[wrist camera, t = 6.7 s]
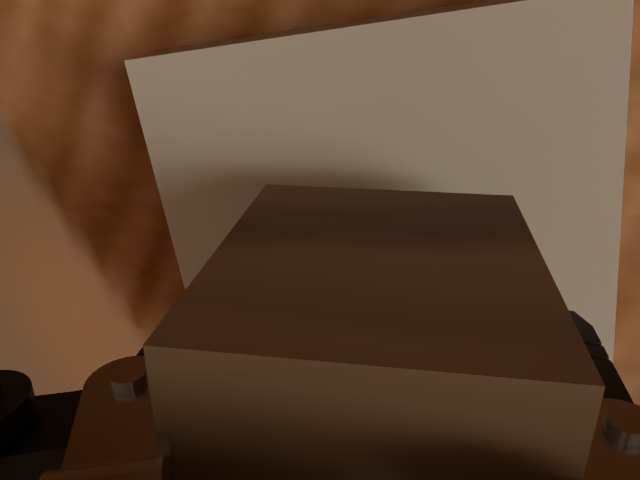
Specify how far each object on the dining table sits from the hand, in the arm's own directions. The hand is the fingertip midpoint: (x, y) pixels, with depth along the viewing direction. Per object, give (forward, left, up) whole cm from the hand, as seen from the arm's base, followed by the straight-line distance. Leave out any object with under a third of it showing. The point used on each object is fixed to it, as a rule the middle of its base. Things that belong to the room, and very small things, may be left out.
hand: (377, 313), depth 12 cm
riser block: (0, 0, -7) cm, 7 cm away
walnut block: (0, 0, -1) cm, 1 cm away
